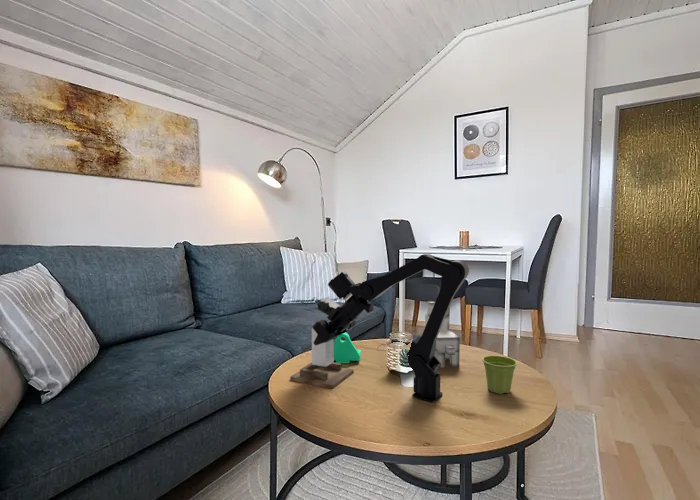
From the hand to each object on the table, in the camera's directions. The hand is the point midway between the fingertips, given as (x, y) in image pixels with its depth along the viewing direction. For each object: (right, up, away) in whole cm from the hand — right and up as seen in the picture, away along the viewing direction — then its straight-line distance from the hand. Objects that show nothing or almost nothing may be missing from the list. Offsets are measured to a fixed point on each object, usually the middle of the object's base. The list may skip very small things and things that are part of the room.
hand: (319, 342), depth 122 cm
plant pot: (+53, -12, -10) cm, 55 cm away
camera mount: (+8, -10, +16) cm, 21 cm away
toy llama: (+43, -10, +15) cm, 46 cm away
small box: (+29, -11, +7) cm, 31 cm away
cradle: (+1, -11, 0) cm, 11 cm away
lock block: (+1, -7, 0) cm, 7 cm away
